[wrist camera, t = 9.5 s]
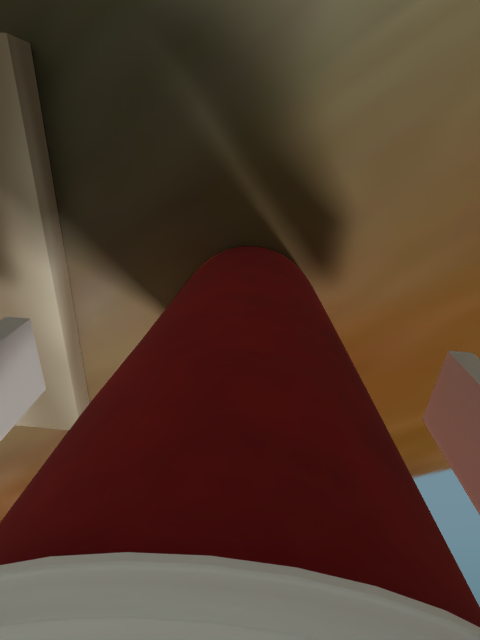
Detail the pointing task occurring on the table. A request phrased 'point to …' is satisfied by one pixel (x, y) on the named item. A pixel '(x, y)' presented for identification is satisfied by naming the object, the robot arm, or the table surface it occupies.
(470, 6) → the table surface
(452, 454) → the robot arm
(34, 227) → the blueprint plate
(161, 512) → the paper cup
